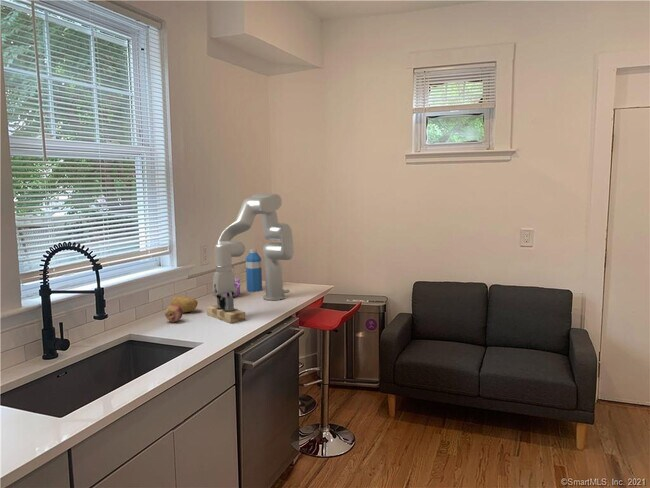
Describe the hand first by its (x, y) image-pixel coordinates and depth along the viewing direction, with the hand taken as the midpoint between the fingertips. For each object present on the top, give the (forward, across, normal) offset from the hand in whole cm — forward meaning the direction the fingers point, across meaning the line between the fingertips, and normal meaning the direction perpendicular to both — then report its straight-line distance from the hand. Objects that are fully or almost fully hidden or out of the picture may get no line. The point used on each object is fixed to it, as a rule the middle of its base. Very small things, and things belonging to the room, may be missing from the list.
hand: (225, 306), depth 238 cm
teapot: (+6, -25, -38) cm, 46 cm away
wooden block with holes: (+5, 0, 0) cm, 5 cm away
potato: (+6, +9, -24) cm, 26 cm away
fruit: (+6, +21, -11) cm, 24 cm away
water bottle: (+6, -46, -43) cm, 63 cm away
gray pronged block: (+3, 0, 0) cm, 3 cm away
